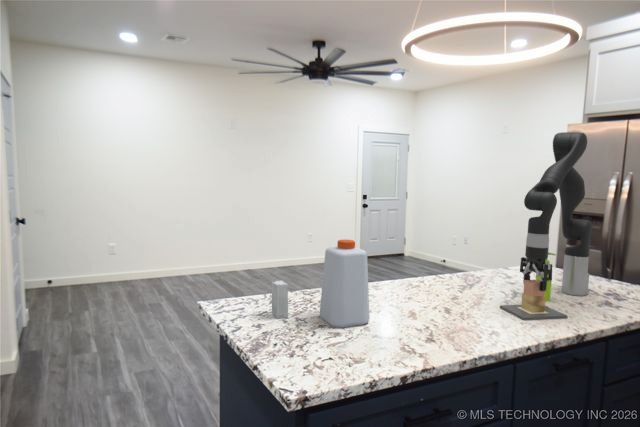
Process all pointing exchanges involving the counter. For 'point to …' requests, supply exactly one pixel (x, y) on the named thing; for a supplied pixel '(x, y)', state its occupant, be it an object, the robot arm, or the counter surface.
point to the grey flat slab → (528, 315)
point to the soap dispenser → (548, 288)
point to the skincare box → (279, 299)
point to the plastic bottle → (345, 286)
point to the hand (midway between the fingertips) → (534, 287)
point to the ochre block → (533, 303)
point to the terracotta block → (533, 288)
